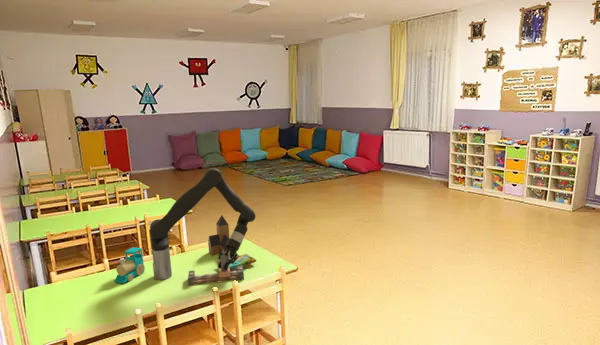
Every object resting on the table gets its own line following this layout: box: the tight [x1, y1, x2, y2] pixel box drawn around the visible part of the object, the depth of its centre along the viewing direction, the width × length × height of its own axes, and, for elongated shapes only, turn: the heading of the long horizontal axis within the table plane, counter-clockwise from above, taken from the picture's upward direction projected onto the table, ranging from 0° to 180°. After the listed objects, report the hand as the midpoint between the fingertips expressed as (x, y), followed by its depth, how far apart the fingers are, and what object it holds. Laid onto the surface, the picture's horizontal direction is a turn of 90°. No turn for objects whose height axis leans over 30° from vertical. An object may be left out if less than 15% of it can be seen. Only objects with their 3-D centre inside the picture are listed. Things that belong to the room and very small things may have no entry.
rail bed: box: [187, 265, 245, 286], centre depth 228 cm, size 30×9×5 cm, turn 101°
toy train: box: [114, 246, 146, 284], centre depth 232 cm, size 8×17×15 cm, turn 160°
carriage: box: [218, 255, 230, 278], centre depth 228 cm, size 6×6×11 cm
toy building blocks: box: [207, 215, 230, 257], centre depth 259 cm, size 12×19×25 cm, turn 29°
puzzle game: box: [216, 253, 257, 272], centre depth 244 cm, size 12×5×20 cm
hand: (221, 268), depth 227 cm, fingers closed on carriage, 3 cm apart
